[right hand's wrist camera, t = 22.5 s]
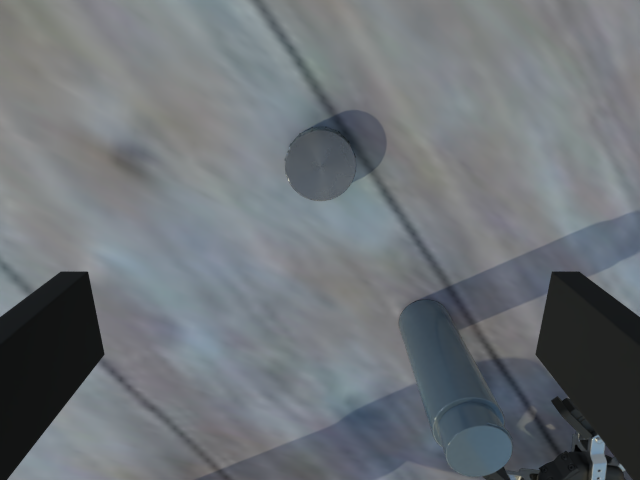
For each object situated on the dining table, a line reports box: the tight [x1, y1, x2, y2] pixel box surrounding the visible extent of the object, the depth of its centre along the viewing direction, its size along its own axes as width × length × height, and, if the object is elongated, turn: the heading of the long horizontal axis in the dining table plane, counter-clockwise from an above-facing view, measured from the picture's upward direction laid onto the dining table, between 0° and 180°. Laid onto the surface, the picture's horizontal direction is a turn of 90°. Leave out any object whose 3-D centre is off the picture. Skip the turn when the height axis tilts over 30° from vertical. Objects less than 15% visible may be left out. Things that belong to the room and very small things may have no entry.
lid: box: [285, 127, 356, 201], centre depth 37 cm, size 6×6×2 cm
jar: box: [399, 300, 513, 477], centre depth 36 cm, size 5×5×16 cm
